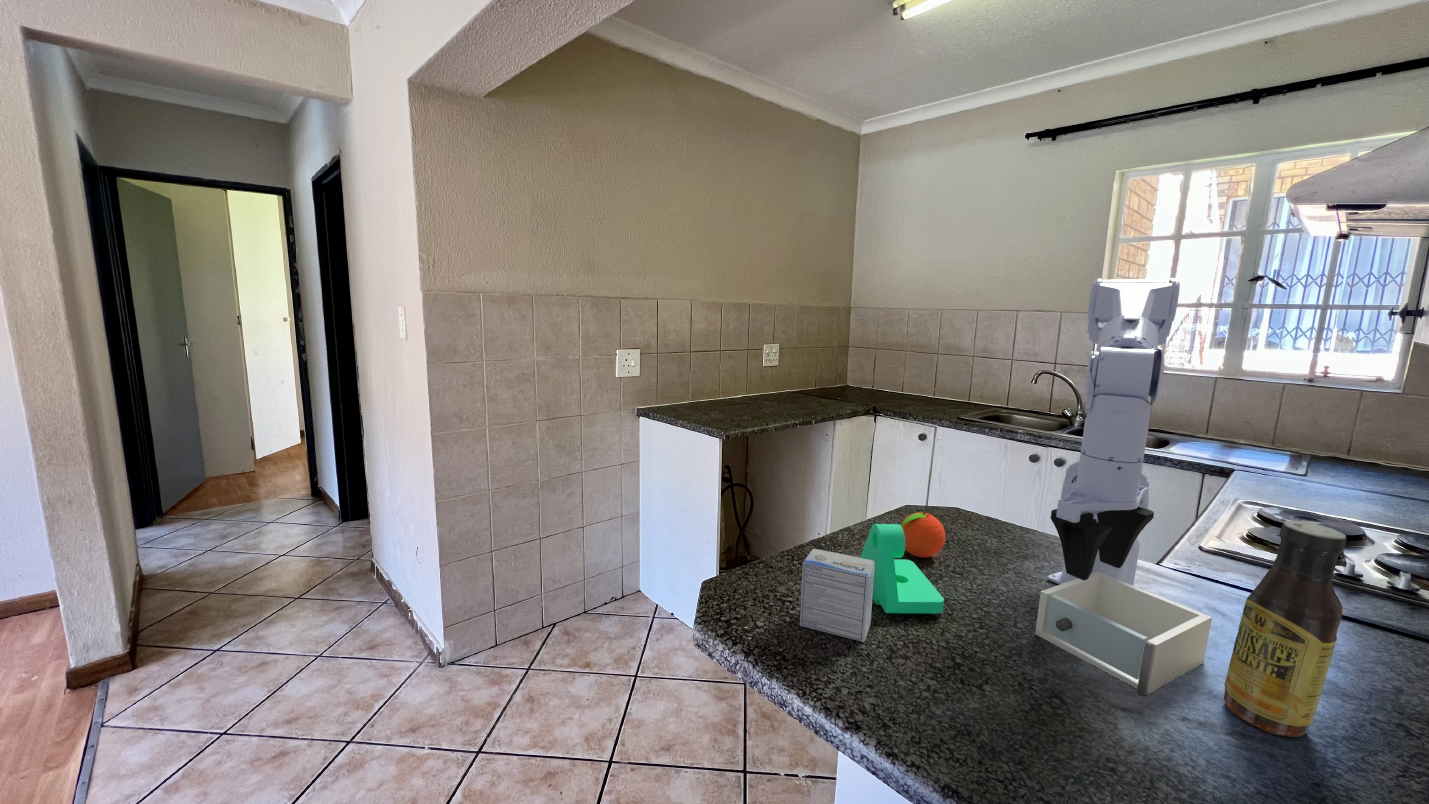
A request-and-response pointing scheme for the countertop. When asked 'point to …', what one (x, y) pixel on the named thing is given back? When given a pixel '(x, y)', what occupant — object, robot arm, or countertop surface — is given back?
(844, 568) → the medicine box
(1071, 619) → the case door
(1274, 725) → the sauce bottle
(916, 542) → the clementine
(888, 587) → the camera mount
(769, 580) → the countertop surface
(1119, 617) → the cream case
